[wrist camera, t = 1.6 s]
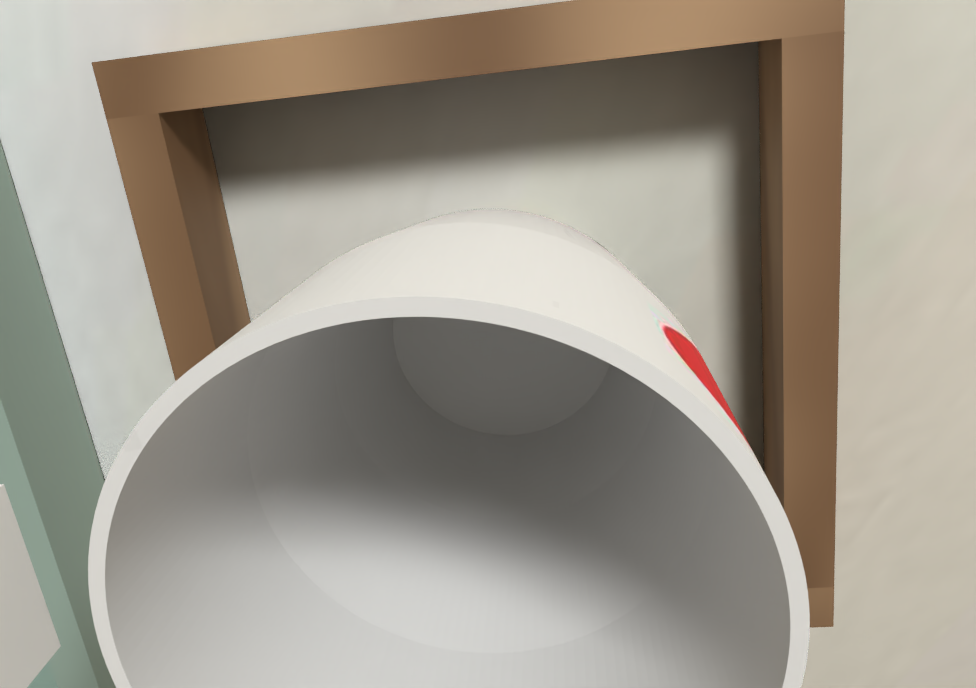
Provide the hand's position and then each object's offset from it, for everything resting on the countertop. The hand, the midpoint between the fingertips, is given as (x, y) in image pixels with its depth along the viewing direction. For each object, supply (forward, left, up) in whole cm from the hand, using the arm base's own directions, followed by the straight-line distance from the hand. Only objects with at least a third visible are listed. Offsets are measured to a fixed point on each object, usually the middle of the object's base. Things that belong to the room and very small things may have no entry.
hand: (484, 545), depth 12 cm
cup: (0, 0, -8) cm, 8 cm away
